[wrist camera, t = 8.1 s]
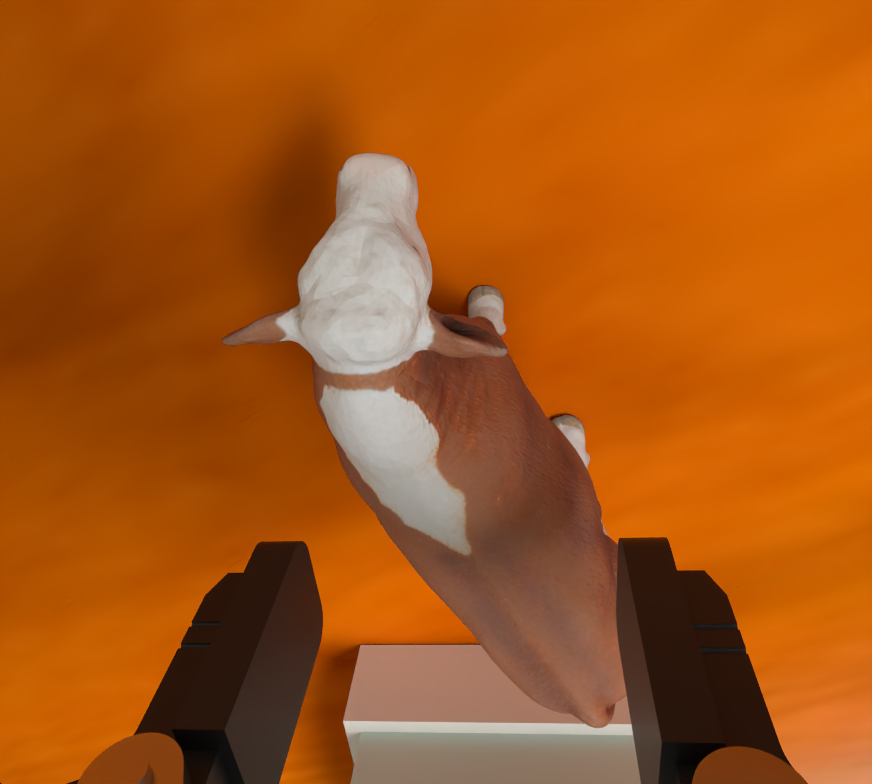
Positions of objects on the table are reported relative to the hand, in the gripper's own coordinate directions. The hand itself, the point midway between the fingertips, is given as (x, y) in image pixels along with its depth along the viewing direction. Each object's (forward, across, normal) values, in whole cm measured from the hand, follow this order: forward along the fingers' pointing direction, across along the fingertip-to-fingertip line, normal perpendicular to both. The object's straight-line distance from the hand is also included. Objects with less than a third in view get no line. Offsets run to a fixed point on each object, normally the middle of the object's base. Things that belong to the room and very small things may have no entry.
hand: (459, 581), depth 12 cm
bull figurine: (+9, 0, 0) cm, 9 cm away
